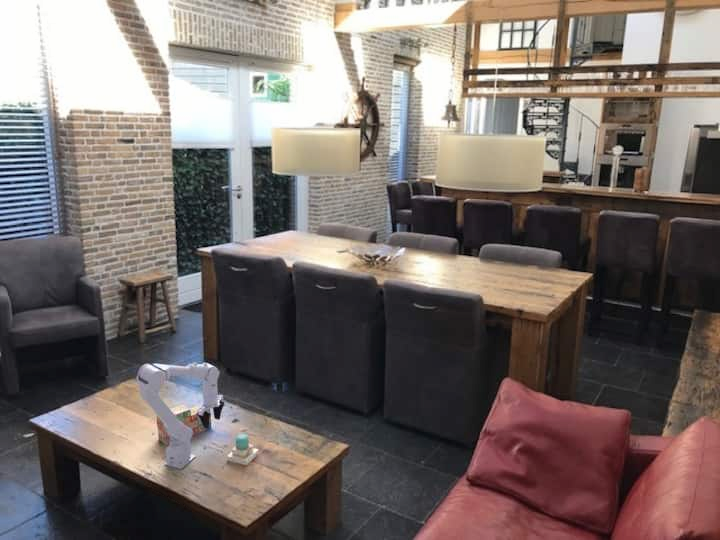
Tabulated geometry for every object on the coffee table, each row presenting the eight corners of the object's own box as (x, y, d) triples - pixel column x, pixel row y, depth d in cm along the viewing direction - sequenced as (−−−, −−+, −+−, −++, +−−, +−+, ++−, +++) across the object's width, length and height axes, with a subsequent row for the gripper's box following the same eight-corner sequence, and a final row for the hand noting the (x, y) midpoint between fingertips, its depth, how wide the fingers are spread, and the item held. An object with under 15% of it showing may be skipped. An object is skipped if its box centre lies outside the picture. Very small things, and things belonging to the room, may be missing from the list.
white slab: (246, 466, 233) (246, 461, 232) (227, 461, 236) (226, 456, 235) (258, 454, 241) (258, 449, 240) (239, 450, 244) (239, 444, 243)
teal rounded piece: (244, 451, 234) (244, 442, 233) (233, 448, 236) (233, 439, 235) (251, 444, 239) (250, 435, 238) (240, 442, 240) (239, 433, 239)
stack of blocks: (204, 422, 264) (203, 397, 261) (211, 428, 260) (210, 402, 256) (158, 439, 250) (156, 413, 247) (164, 445, 246) (162, 418, 242)
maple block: (244, 458, 234) (244, 452, 233) (232, 454, 236) (231, 449, 236) (253, 450, 239) (253, 445, 238) (241, 447, 241) (240, 441, 241)
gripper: (207, 402, 232) (209, 433, 236) (228, 387, 246) (230, 416, 249) (192, 399, 235) (194, 430, 238) (214, 384, 248) (215, 413, 252)
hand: (211, 423), depth 244 cm, fingers open, 7 cm apart
